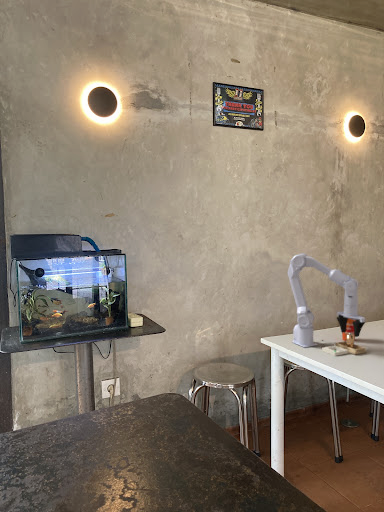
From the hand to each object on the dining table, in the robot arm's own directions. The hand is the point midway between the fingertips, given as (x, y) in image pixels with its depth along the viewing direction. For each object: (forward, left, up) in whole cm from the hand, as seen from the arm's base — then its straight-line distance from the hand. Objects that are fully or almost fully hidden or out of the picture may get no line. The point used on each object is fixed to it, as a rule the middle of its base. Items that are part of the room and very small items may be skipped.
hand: (350, 334), depth 176 cm
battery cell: (0, 0, -7) cm, 7 cm away
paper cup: (-12, +12, -8) cm, 19 cm away
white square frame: (-1, -8, -8) cm, 11 cm away
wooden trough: (0, 0, -8) cm, 8 cm away
